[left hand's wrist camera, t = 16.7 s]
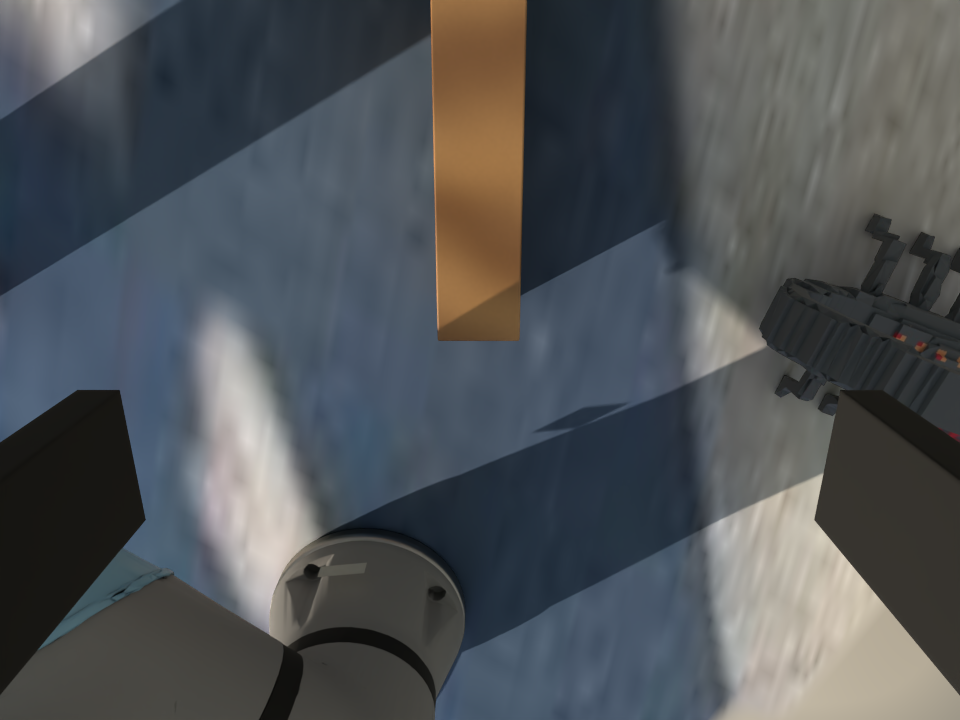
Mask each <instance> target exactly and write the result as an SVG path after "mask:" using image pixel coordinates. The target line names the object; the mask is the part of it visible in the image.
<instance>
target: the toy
mask: <svg viewBox="0 0 960 720" xmlns="http://www.w3.org/2000/svg"><path fill="white" fill-rule="evenodd" d="M891 221H892V219H888V218H885V217H882V216H880V215H877V214H874V216H873V218H872V220H871V221H870V223H869V225H868V227H867V229H866V230H865V231H868V232H870V233H873V236H872V238H873V239H877V240H880V241H883V243H882V245H881V247H880V249H879V251H878V253H877V255H876V257H875V262H874V264H873V266H872V267H871V269H870V271H869V273H868V274H867V276H866V278H865V280H864V282H863V283H862V285H861V290H859V289H856V288H853V287H839V286H834V285H830V284H828V283H825V282H822V281H816V280H809V279H805V280H804V281H801V280H799V279H796V278H791V279H787V280H786V282H785V284H784V286H781V287H780V289H779V291H778V293H777V294H776V296H775V298H774V300H773V302H772V304H771V306H770V308H769V310H768V311H767V313H766V315H765V317H764V319H763V321H762V323H761V325H760V328H759V329H760V331H761V333H762V334H763V336H762V337H763V338H764V339H765V340H766V341H767V345H768V346H769V347H771V348H772V349H774V350H775V351H777V352H778V353H780V354H782V355H784V356H785V357H787V358H789V359H791V360H793V361H795V362H796V363H798V364H800V365H802V366H803V367H804V368H805V369H806V372H805V373H804V375H803V376H802V378H801V379H800V381H799V382H798V381H796V380H795V379H793V378H791V377H788V376H784V377H783V379H782V381H781V383H780V385H779V386H778V388H777V390H776V392H775V394H776V395H778V396H779V397H782V396H784V395H786V394H788V393H790V392H792V393H793V394H794V395H795V396H796V397H797V398H799V399H801V400H806V401H809V400H812V399H813V398H814V396H815V395H816V393H817V391H818V389H819V387H820V386H821V384H822V385H825V383H826V381H829V382H831V383H833V384H835V385H837V386H840V387H842V388H844V389H846V390H883V391H885V392H886V393H888V394H889V395H890V396H892V397H893V398H895V399H896V400H898V401H899V402H901V403H902V404H904V405H905V406H907V407H908V408H910V409H911V410H913V411H914V412H916V413H917V414H918V415H920V416H921V417H923V418H924V419H926V420H927V421H929V422H930V423H932V424H933V425H935V426H936V427H938V428H939V429H941V430H942V431H943V432H945V433H946V434H948V435H949V436H951V437H952V438H954V439H955V440H957V441H958V442H960V293H959V295H958V297H957V299H956V301H955V303H954V304H953V306H952V308H951V309H950V312H949V314H948V315H947V316H945V317H942V316H940V315H938V314H935V313H933V312H930V311H929V310H930V309H931V307H932V306H933V304H934V303H935V301H936V300H937V298H938V297H939V295H940V290H941V284H942V283H943V281H944V279H945V278H946V276H947V274H948V272H949V268H950V269H952V270H954V271H956V272H958V273H960V248H959V250H958V251H957V253H956V255H955V257H954V259H953V261H952V262H951V265H950V261H951V256H949V255H946V254H944V253H941V252H937V251H934V250H930V249H931V247H932V244H933V242H934V238H935V237H934V236H930V235H927V234H925V233H922V232H921V234H920V236H919V237H918V239H917V241H916V242H915V244H914V246H913V247H912V249H911V251H910V253H911V254H913V255H916V256H919V257H922V258H925V261H924V262H923V263H925V264H926V266H925V267H924V269H923V271H922V273H921V275H920V277H919V279H918V281H917V283H916V285H915V287H914V289H913V291H912V293H911V296H910V302H909V303H906V302H904V301H901V300H899V299H896V298H893V297H891V296H888V295H885V294H883V293H882V292H883V289H884V287H885V285H886V283H887V282H888V280H889V278H890V276H891V274H892V272H893V270H894V268H895V266H896V265H897V263H898V261H899V259H900V256H901V254H902V252H903V250H904V248H905V246H906V244H905V243H903V242H900V241H898V239H899V237H900V236H898V235H894V234H891V233H888V230H889V227H890V224H891ZM838 400H839V396H835V395H826V396H825V397H824V399H823V401H822V403H821V404H820V406H819V408H818V409H819V410H820V411H821V412H823V413H826V414H829V415H832V416H833V415H834V414H835V413H836V410H837V405H838Z"/></svg>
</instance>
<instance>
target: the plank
mask: <svg viewBox="0 0 960 720" xmlns="http://www.w3.org/2000/svg"><path fill="white" fill-rule="evenodd" d="M526 26H527V0H431V47H432V94H433V140H434V187H435V233H436V280H437V326H438V340H439V341H519V336H520V292H521V247H522V203H523V159H524V114H525V70H526Z"/></svg>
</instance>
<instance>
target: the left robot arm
mask: <svg viewBox="0 0 960 720" xmlns="http://www.w3.org/2000/svg"><path fill="white" fill-rule="evenodd" d="M145 520H146V519H145V514H144V509H143V504H142V499H141V495H140V490H139V485H138V480H137V475H136V470H135V465H134V460H133V455H132V450H131V445H130V440H129V435H128V430H127V425H126V420H125V415H124V410H123V405H122V400H121V395H120V390H77V391H75V392H74V393H72V394H71V395H70V396H68V397H67V398H65V399H64V400H62V401H61V402H59V403H58V404H56V405H55V406H53V407H52V408H50V409H49V410H47V411H46V412H44V413H43V414H42V415H40V416H39V417H37V418H36V419H34V420H33V421H31V422H30V423H28V424H27V425H25V426H24V427H22V428H21V429H19V430H18V431H17V432H15V433H14V434H12V435H11V436H9V437H8V438H6V439H5V440H3V441H2V442H0V720H435V704H436V697H437V695H438V693H439V691H440V689H441V687H442V685H443V683H444V681H445V679H446V677H447V675H448V673H449V671H450V669H451V667H452V665H453V663H454V661H455V658H456V656H457V654H458V652H459V649H460V646H461V642H462V639H463V635H464V628H465V601H464V595H463V592H462V589H461V586H460V584H459V581H458V579H457V578H456V576H455V574H454V572H453V571H452V570H451V568H450V567H449V566H448V564H447V563H446V562H445V561H444V560H443V559H442V558H441V557H440V556H439V555H438V554H436V553H435V552H434V551H433V550H431V549H430V548H428V547H427V546H425V545H424V544H422V543H420V542H418V541H416V540H414V539H412V538H410V537H407V536H405V535H402V534H398V533H395V532H391V531H386V530H379V529H352V530H345V531H340V532H336V533H332V534H329V535H327V536H324V537H322V538H319V539H317V540H315V541H314V542H312V543H310V544H309V545H307V546H306V547H304V548H303V549H302V550H301V551H299V552H298V553H297V554H296V555H295V556H294V557H293V558H292V559H291V561H290V562H289V563H288V564H287V566H286V568H285V569H284V571H283V573H282V575H281V577H280V579H279V582H278V584H277V586H276V588H275V591H274V594H273V597H272V601H271V608H270V616H269V628H270V635H269V634H267V633H265V632H264V631H262V630H260V629H259V628H257V627H255V626H254V625H252V624H250V623H249V622H247V621H246V620H244V619H242V618H241V617H239V616H237V615H236V614H234V613H232V612H231V611H229V610H227V609H226V608H224V607H222V606H221V605H219V604H218V603H216V602H215V601H213V600H211V599H210V598H208V597H207V596H205V595H204V594H202V593H200V592H199V591H197V590H196V589H194V588H193V587H191V586H189V585H188V584H186V583H185V582H183V581H182V580H180V579H178V578H177V577H175V576H174V572H173V571H171V570H170V569H167V568H162V569H161V568H159V567H157V566H155V565H153V564H151V563H149V562H147V561H146V560H144V559H142V558H140V557H138V556H136V555H134V554H132V553H131V552H129V551H127V550H125V549H123V547H124V545H125V544H126V543H127V542H128V540H129V539H130V538H131V537H132V536H133V534H134V533H135V532H136V531H137V530H138V528H139V527H140V526H141V525H142V524H143V522H144V521H145ZM814 520H815V521H816V522H817V524H818V525H819V526H820V527H821V528H822V530H823V531H824V532H825V533H826V534H827V536H828V537H829V538H830V539H831V540H832V542H833V543H834V544H835V545H836V547H837V548H838V549H839V550H840V551H841V553H842V554H843V555H844V556H845V557H846V559H847V560H848V561H849V562H850V563H851V565H852V566H853V567H854V568H855V569H856V571H857V572H858V573H859V574H860V575H861V577H862V578H863V579H864V580H865V581H866V583H867V584H868V585H869V586H870V588H871V589H872V590H873V591H874V592H875V594H876V595H877V596H878V597H879V598H880V600H881V601H882V602H883V603H884V604H885V606H886V607H887V608H888V609H889V610H890V612H891V613H892V614H893V615H894V616H895V618H896V619H897V620H898V621H899V622H900V624H901V625H902V626H903V627H904V628H905V630H906V631H907V632H908V633H909V635H910V636H911V637H912V638H913V639H914V641H915V642H916V643H917V644H918V645H919V647H920V648H921V649H922V650H923V651H924V653H925V654H926V655H927V656H928V657H929V659H930V660H931V661H932V662H933V663H934V665H935V666H936V667H937V668H938V670H939V671H940V672H941V673H942V674H943V676H944V677H945V678H946V679H947V680H948V682H949V683H950V684H951V685H952V686H953V688H954V689H955V690H956V691H957V692H958V694H959V695H960V442H958V441H957V440H955V439H954V438H952V437H951V436H949V435H948V434H946V433H945V432H943V431H942V430H941V429H939V428H938V427H936V426H935V425H933V424H932V423H930V422H929V421H927V420H926V419H924V418H923V417H921V416H920V415H918V414H917V413H916V412H914V411H913V410H911V409H910V408H908V407H907V406H905V405H904V404H902V403H901V402H899V401H898V400H896V399H895V398H893V397H892V396H890V395H889V394H888V393H886V392H885V391H883V390H840V395H839V400H838V405H837V410H836V415H835V420H834V425H833V430H832V435H831V440H830V445H829V450H828V455H827V460H826V465H825V470H824V475H823V480H822V485H821V490H820V495H819V499H818V504H817V509H816V514H815V519H814Z"/></svg>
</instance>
